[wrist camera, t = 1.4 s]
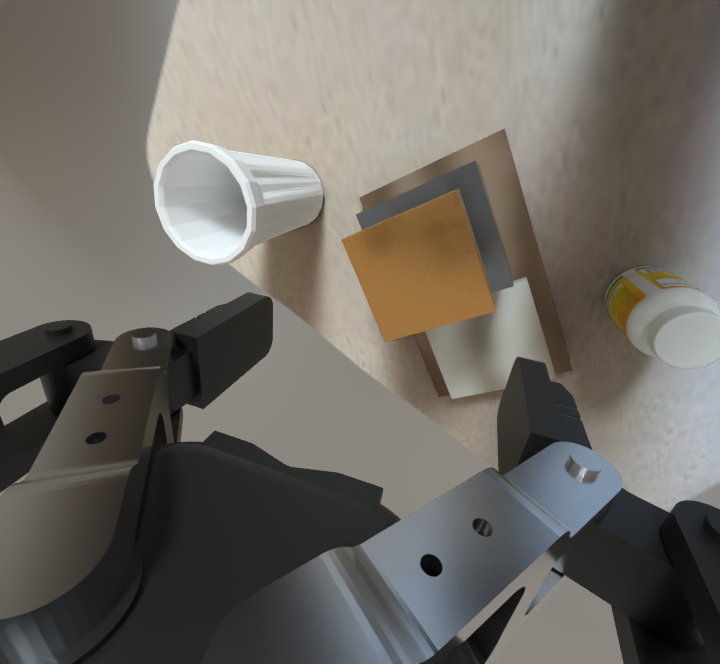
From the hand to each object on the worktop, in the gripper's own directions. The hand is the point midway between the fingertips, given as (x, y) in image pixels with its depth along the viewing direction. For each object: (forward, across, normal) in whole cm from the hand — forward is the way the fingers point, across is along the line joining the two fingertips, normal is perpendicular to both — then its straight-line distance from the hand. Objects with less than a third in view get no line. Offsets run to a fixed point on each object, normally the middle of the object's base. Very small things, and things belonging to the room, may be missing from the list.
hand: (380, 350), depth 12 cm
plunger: (+20, 0, 0) cm, 20 cm away
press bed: (+26, -2, +4) cm, 26 cm away
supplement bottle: (+26, -17, +3) cm, 31 cm away
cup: (+26, +16, -1) cm, 30 cm away
